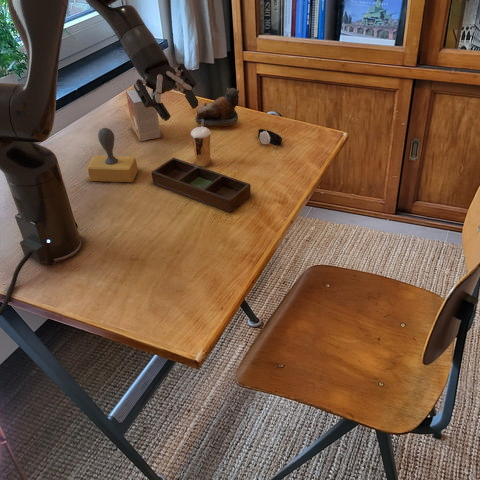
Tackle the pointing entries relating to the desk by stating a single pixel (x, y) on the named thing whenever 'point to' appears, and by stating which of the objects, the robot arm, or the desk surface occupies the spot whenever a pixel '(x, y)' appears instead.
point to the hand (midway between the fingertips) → (182, 113)
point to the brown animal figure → (220, 110)
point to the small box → (142, 117)
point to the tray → (202, 184)
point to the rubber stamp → (111, 162)
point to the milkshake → (201, 144)
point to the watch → (269, 137)
